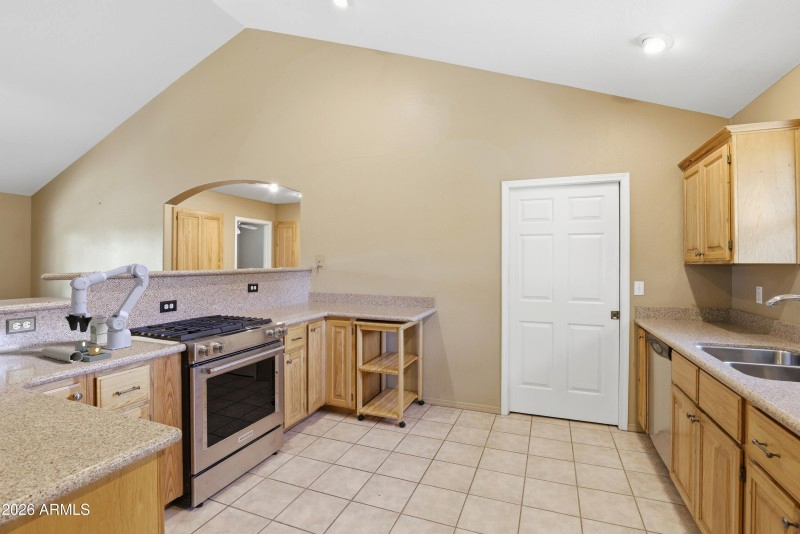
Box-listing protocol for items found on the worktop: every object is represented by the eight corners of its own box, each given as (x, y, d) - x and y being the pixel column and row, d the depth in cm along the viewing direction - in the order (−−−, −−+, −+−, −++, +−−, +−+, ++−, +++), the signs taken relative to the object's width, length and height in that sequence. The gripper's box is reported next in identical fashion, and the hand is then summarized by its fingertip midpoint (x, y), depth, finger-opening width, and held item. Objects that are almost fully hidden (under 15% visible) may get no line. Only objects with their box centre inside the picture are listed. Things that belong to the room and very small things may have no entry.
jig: (86, 352, 187) (86, 348, 187) (111, 357, 180) (111, 353, 180) (64, 357, 179) (64, 352, 179) (89, 362, 172) (89, 357, 172)
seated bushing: (96, 357, 180) (96, 346, 180) (102, 358, 179) (102, 347, 179) (86, 359, 176) (86, 348, 176) (92, 360, 175) (92, 349, 175)
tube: (36, 348, 178) (66, 355, 168) (50, 343, 183) (80, 348, 172) (41, 359, 180) (71, 366, 169) (55, 353, 185) (84, 359, 174)
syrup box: (108, 342, 210) (108, 315, 210) (96, 344, 205) (96, 316, 204) (102, 341, 212) (102, 314, 212) (89, 343, 207) (89, 315, 207)
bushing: (83, 354, 184) (83, 339, 184) (89, 355, 183) (89, 340, 183) (72, 356, 180) (72, 341, 180) (79, 357, 179) (79, 342, 179)
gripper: (60, 302, 185) (59, 331, 186) (78, 304, 180) (78, 334, 180) (77, 301, 192) (76, 328, 192) (95, 303, 186) (95, 331, 186)
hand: (78, 331), depth 186 cm, fingers open, 7 cm apart
